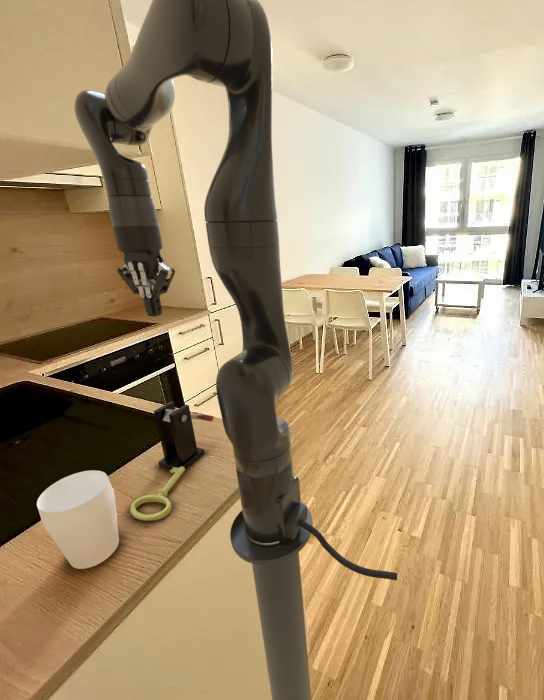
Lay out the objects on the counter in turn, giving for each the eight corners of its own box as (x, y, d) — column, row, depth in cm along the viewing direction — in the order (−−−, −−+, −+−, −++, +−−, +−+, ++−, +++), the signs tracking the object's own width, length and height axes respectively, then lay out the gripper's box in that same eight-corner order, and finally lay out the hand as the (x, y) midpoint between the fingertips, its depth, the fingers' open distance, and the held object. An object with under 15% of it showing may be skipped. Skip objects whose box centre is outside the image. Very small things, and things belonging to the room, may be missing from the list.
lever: (195, 420, 83) (197, 409, 84) (212, 424, 82) (214, 413, 82) (157, 419, 73) (160, 407, 74) (175, 423, 71) (178, 411, 72)
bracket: (183, 447, 82) (173, 398, 77) (204, 453, 80) (195, 402, 75) (159, 466, 76) (146, 413, 71) (180, 473, 74) (169, 419, 69)
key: (187, 472, 74) (185, 464, 73) (167, 520, 62) (165, 510, 61) (151, 476, 73) (148, 467, 72) (124, 524, 61) (121, 515, 61)
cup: (52, 586, 51) (24, 522, 47) (69, 537, 59) (47, 479, 55) (123, 564, 54) (103, 501, 50) (131, 520, 62) (114, 463, 58)
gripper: (179, 222, 67) (194, 313, 73) (128, 223, 71) (146, 308, 77) (145, 223, 60) (164, 323, 66) (91, 225, 65) (114, 317, 71)
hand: (154, 315), depth 72 cm, fingers closed
